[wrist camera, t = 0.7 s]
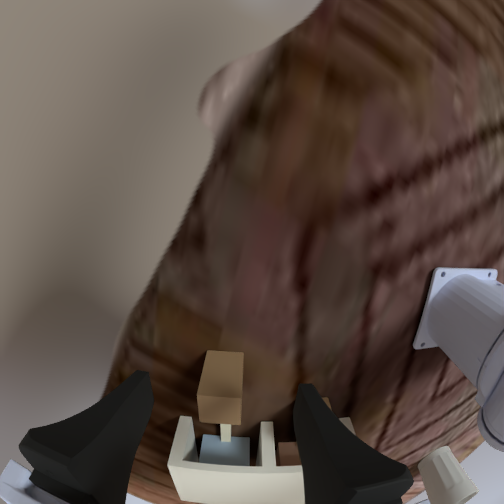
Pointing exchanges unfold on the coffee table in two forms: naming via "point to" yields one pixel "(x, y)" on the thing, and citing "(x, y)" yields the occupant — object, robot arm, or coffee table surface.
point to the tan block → (290, 450)
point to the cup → (445, 478)
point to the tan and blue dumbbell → (222, 408)
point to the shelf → (235, 472)
